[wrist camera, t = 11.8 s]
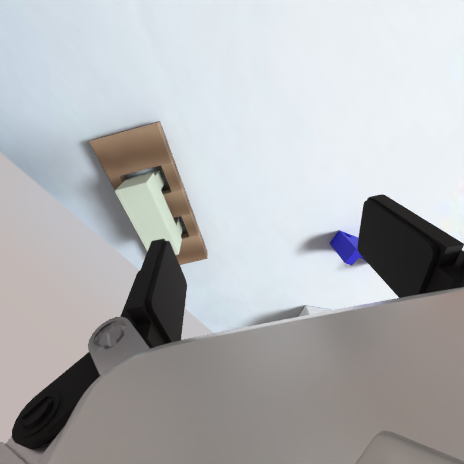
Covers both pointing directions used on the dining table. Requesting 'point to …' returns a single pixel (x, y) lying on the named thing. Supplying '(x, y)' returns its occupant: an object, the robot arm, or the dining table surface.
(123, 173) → the brown wooden board
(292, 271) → the dining table surface
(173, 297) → the robot arm
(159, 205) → the tall sage green block
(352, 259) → the cable clip
